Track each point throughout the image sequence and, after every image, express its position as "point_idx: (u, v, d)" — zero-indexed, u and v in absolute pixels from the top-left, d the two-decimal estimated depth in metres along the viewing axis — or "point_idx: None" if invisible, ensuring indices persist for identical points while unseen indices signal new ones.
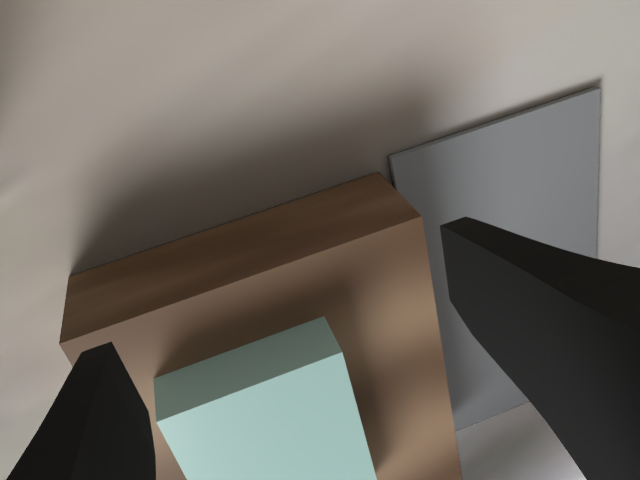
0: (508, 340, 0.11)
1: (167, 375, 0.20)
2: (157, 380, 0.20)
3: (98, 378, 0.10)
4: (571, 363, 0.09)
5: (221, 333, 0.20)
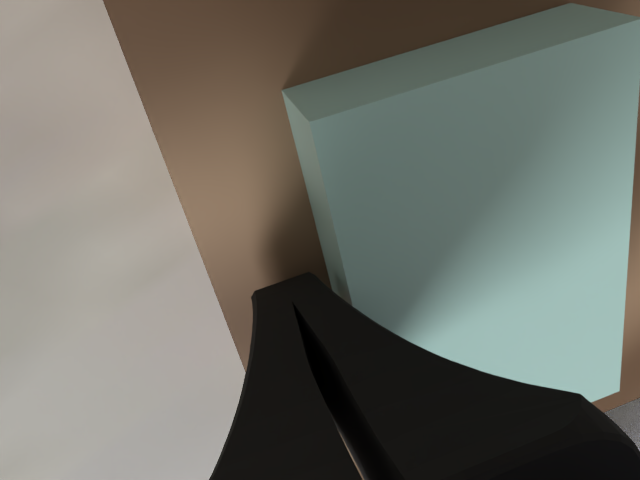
0: (335, 407, 0.11)
1: (304, 87, 0.11)
2: (291, 90, 0.11)
3: (292, 308, 0.11)
4: (363, 446, 0.09)
5: (383, 14, 0.11)
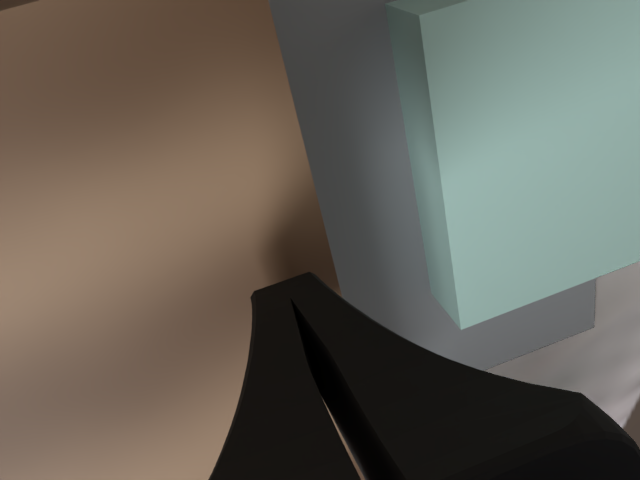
0: (336, 407, 0.11)
1: None
2: None
3: (291, 308, 0.11)
4: (364, 445, 0.09)
5: None
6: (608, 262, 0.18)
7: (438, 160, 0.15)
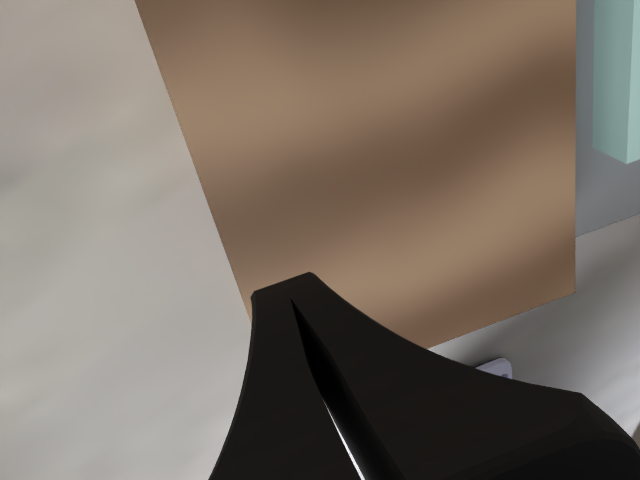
0: (335, 407, 0.11)
1: None
2: None
3: (291, 308, 0.11)
4: (364, 446, 0.09)
5: None
6: None
7: (632, 18, 0.20)
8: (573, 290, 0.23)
